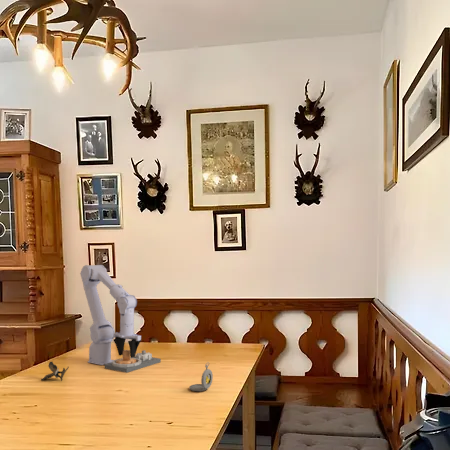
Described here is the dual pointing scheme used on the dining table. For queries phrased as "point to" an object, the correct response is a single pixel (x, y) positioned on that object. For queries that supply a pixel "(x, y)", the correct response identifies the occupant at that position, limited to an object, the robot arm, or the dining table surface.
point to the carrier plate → (141, 361)
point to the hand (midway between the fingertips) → (126, 355)
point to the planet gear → (126, 358)
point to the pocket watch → (203, 381)
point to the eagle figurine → (55, 371)
